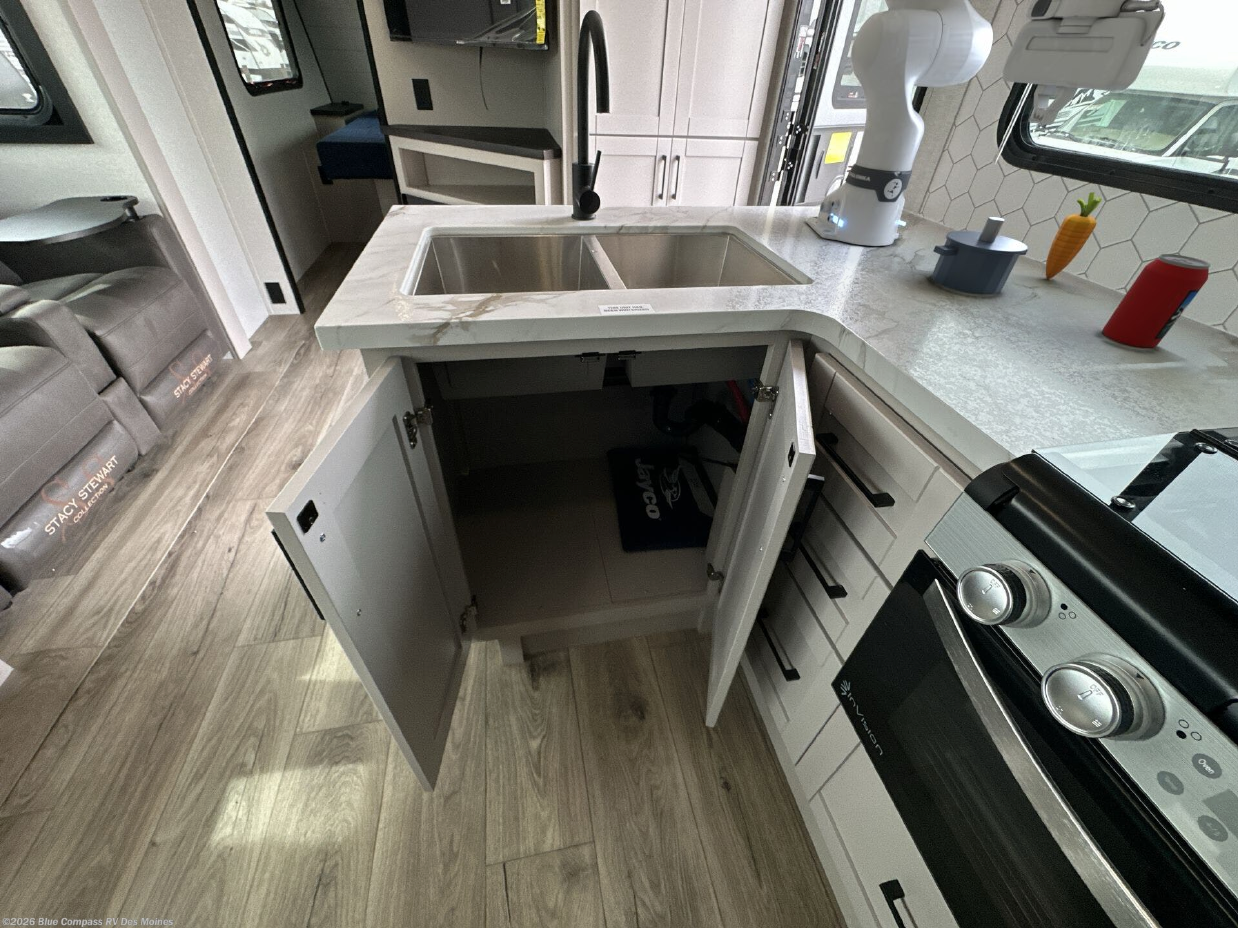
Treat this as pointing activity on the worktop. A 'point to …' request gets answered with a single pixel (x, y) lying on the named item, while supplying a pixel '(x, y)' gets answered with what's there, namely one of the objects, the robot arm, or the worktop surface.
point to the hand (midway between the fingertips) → (1039, 123)
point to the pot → (972, 269)
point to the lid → (987, 239)
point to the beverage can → (1156, 300)
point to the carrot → (1071, 237)
